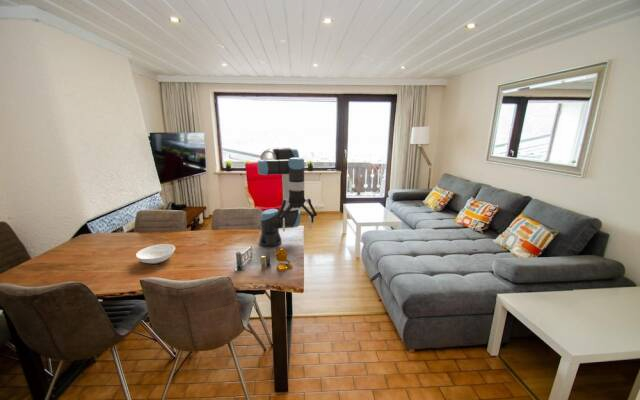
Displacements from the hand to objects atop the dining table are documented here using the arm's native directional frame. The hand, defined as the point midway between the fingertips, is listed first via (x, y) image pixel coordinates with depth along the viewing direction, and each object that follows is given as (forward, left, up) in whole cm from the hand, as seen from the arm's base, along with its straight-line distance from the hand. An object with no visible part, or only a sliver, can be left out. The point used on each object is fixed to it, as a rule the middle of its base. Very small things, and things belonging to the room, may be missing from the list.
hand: (297, 229), depth 135 cm
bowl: (-36, -77, -27) cm, 90 cm away
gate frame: (-14, -23, -27) cm, 38 cm away
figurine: (-10, -6, -27) cm, 29 cm away
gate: (-21, -26, -26) cm, 43 cm away
